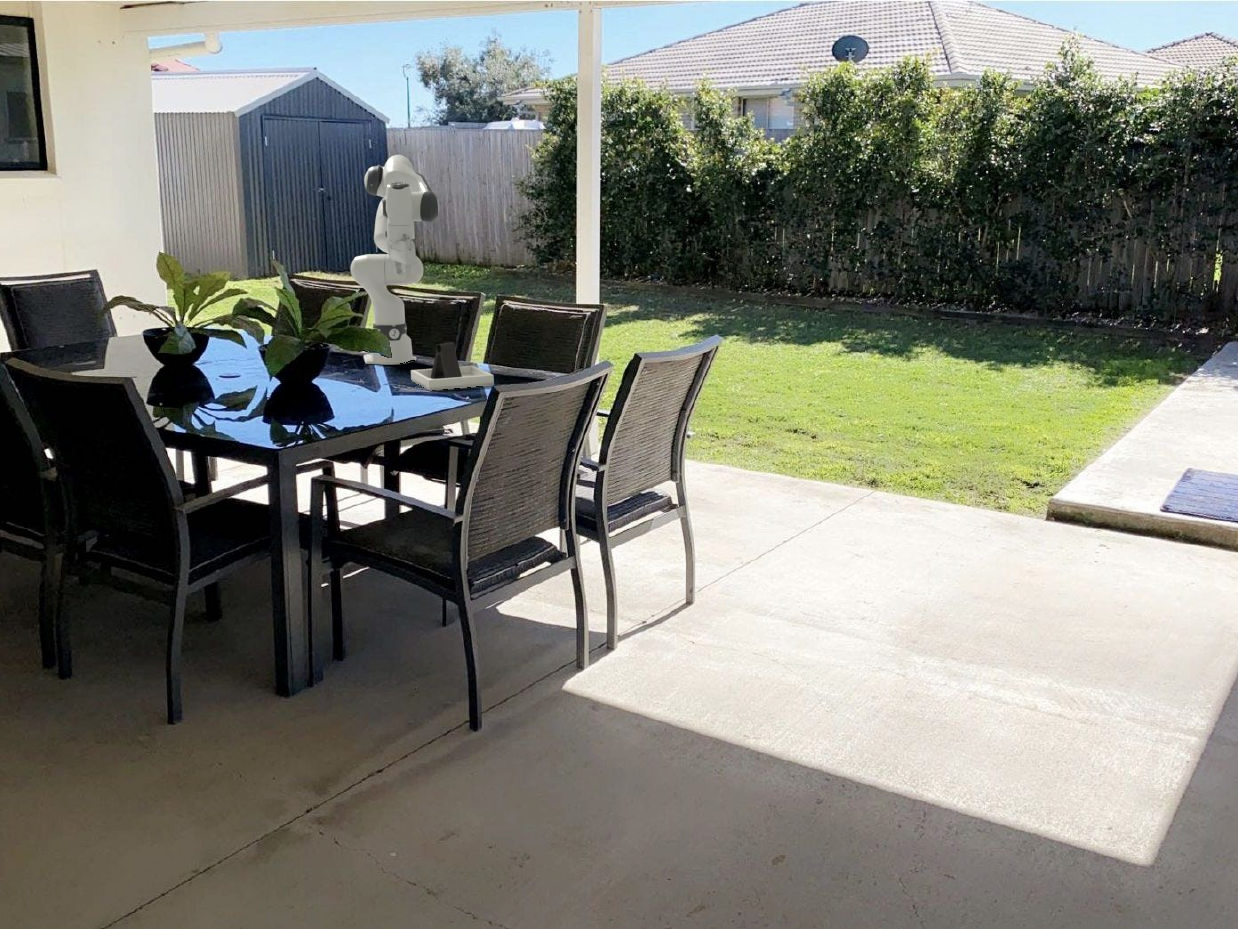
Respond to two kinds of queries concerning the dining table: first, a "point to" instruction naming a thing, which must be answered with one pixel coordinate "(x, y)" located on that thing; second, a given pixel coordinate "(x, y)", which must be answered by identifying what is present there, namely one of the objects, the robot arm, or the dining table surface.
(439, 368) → the dark brown triangular stand
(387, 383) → the dining table surface
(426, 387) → the tray
